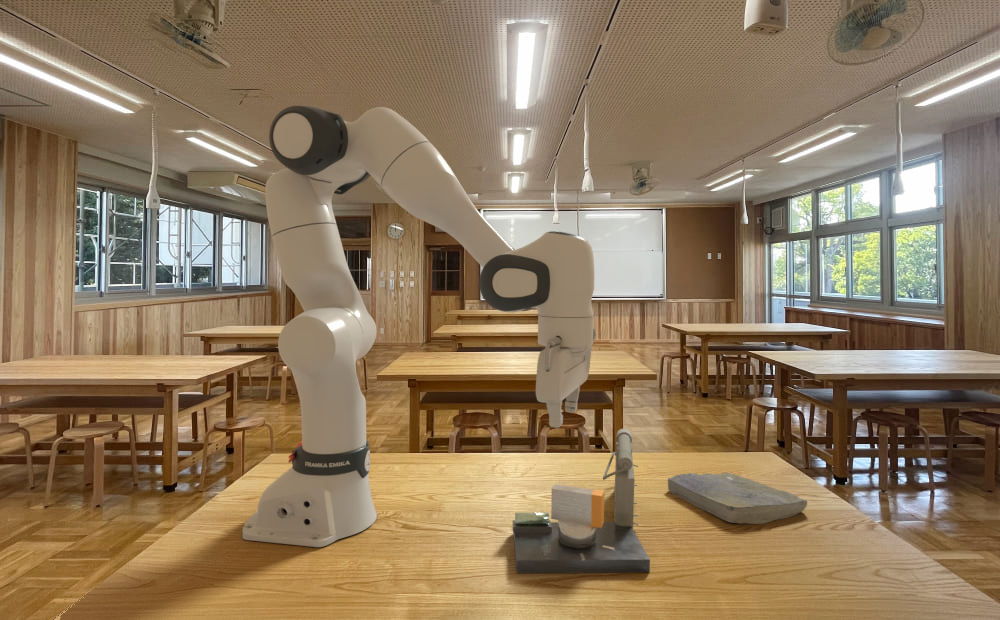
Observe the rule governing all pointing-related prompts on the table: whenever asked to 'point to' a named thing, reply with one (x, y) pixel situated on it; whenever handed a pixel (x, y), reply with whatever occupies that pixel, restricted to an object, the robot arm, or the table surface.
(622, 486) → the geiger counter
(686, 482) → the grey stone slab
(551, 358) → the robot arm
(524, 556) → the stand
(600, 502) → the knob
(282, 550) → the table surface
